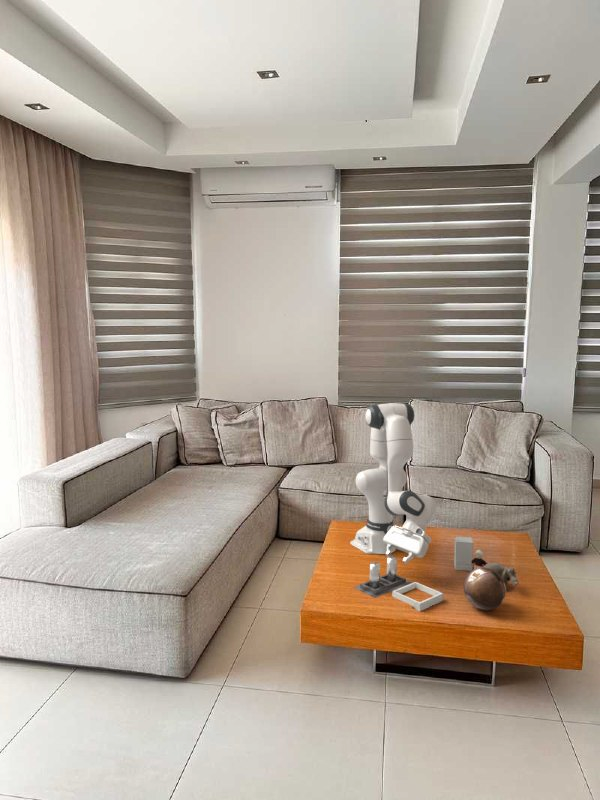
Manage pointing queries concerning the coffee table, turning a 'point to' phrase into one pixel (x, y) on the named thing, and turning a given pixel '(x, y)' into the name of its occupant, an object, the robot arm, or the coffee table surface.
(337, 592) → the coffee table surface
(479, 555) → the grandmother figurine
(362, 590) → the tray
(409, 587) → the white square frame
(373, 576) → the seated billet
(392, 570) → the ball
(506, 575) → the rhinoceros figurine
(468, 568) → the supplement box
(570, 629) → the coffee table surface
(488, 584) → the brown metallic sphere
